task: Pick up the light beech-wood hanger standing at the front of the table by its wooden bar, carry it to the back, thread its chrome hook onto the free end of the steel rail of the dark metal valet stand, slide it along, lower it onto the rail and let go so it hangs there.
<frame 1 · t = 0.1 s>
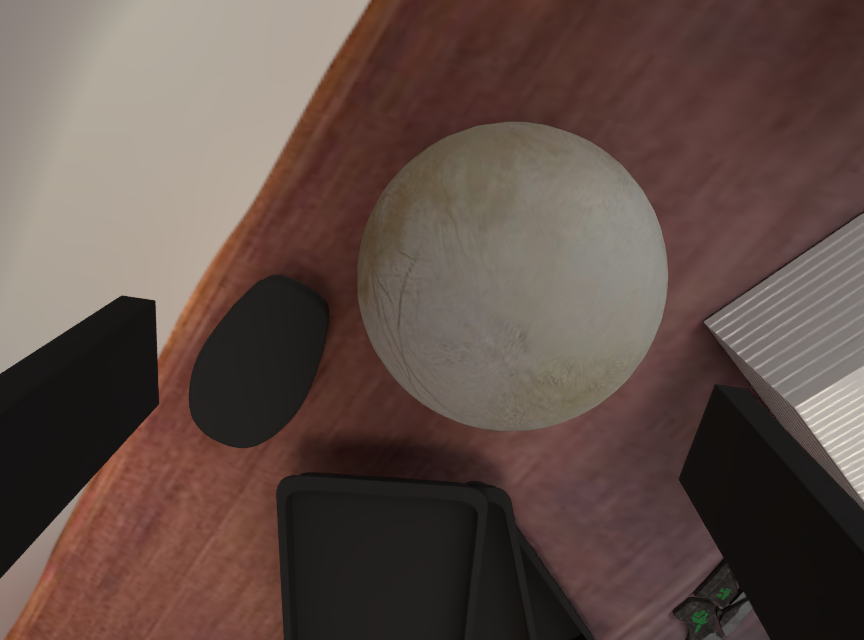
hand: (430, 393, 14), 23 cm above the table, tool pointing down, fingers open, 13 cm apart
sword: (794, 584, 45), on the table
computer mouse: (255, 371, 35), point 4 cm above the table
decorative sphere: (496, 240, 36), on the table
tray: (418, 568, 46), on the table, touching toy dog
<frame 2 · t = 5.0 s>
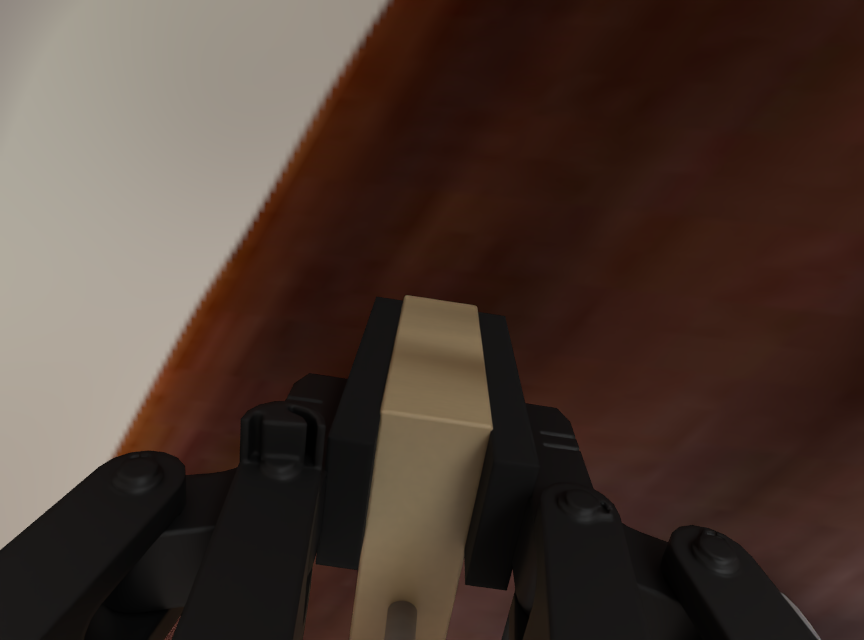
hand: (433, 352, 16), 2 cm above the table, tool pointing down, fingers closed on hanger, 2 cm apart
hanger: (410, 480, 18), point 2 cm above the table, touching gripper
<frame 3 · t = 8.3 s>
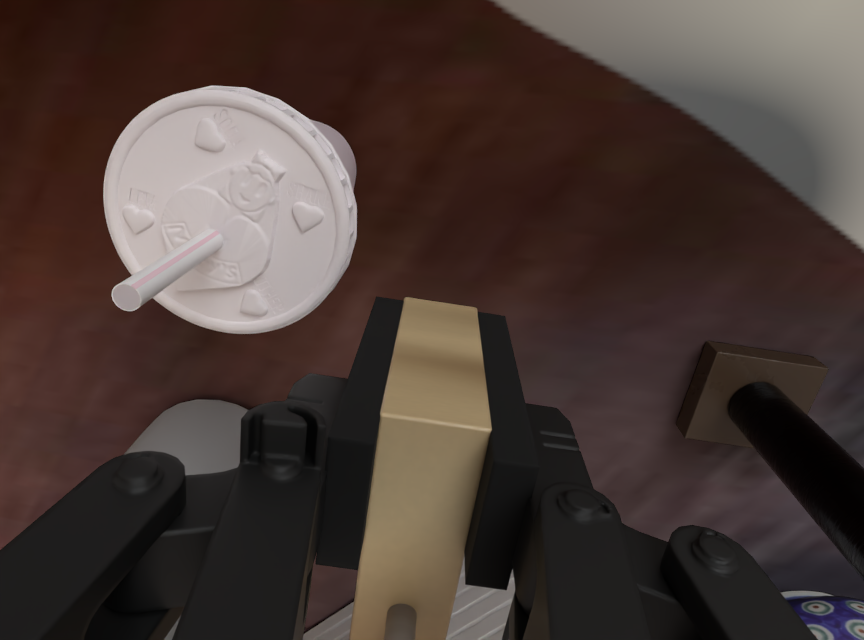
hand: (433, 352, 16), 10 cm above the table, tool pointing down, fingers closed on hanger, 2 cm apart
cup: (247, 451, 29), on the table
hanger: (410, 481, 18), point 10 cm above the table, touching gripper
smoothie: (312, 167, 24), on the table
valet stand: (742, 391, 27), on the table
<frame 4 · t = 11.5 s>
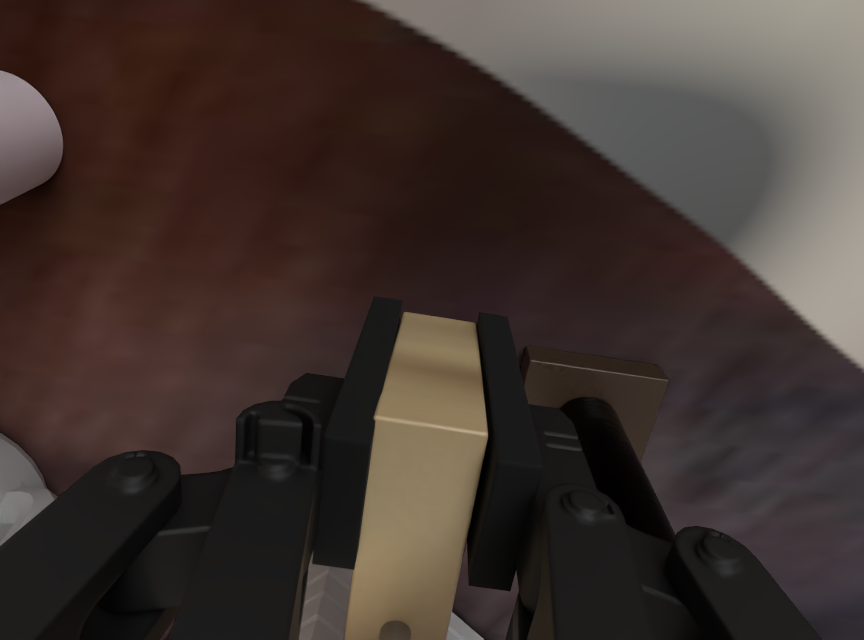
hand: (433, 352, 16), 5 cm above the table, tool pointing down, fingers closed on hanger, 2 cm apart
cup: (3, 476, 25), on the table
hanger: (409, 503, 17), point 5 cm above the table, tilted 5°, touching gripper, valet stand
smoothie: (10, 130, 19), on the table
valet stand: (577, 406, 22), on the table
when the fingers open (5 cm above the table, at t = 11.8 s): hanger stays where it is, resting on valet stand.
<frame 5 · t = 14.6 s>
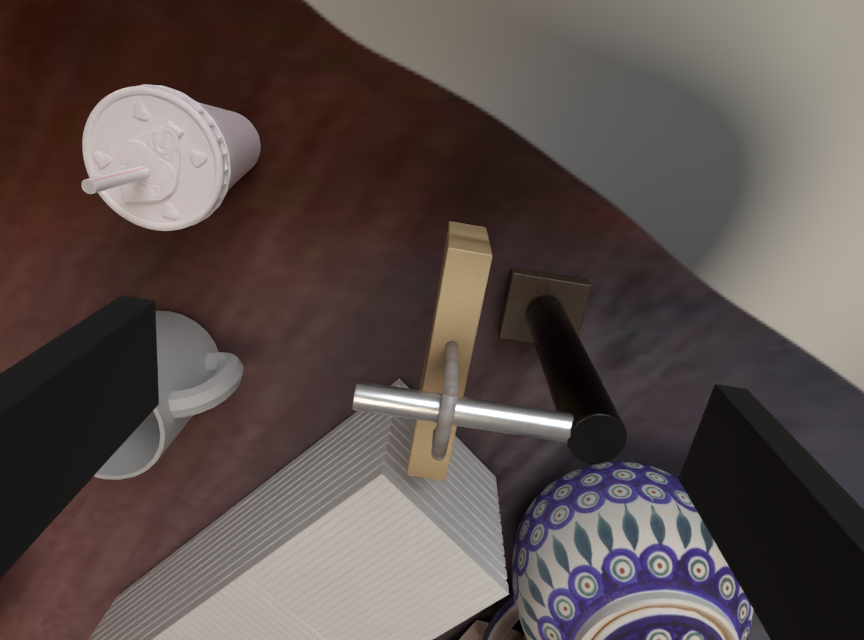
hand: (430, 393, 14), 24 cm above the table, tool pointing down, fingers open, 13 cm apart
cup: (192, 353, 40), on the table
stack of papers: (295, 538, 46), on the table
teapot: (604, 516, 44), on the table, touching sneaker
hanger: (448, 327, 33), point 5 cm above the table, touching valet stand
smoothie: (231, 143, 35), on the table
valet stand: (541, 306, 38), on the table
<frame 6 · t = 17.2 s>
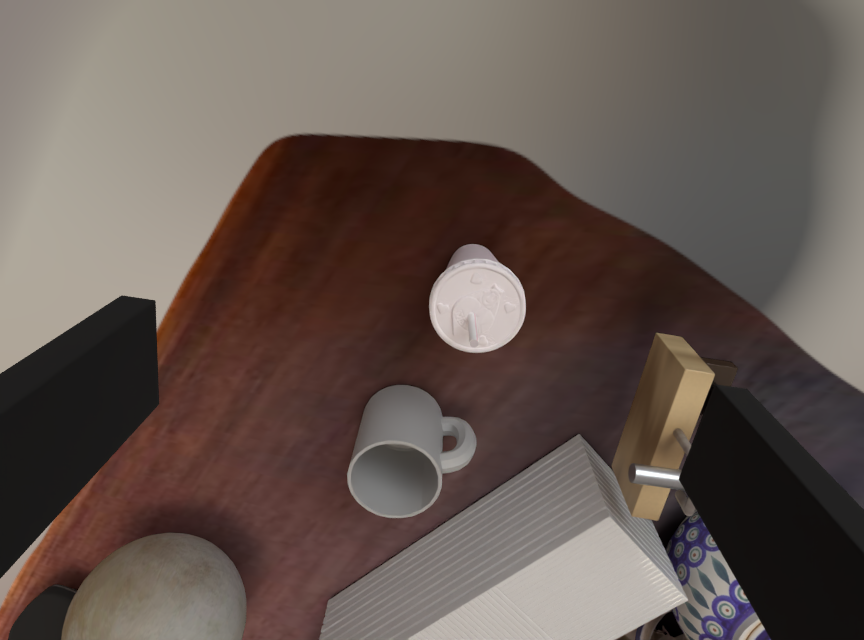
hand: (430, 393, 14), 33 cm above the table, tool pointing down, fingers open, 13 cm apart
cup: (418, 414, 52), on the table
stack of papers: (478, 554, 58), on the table
teapot: (726, 536, 56), on the table, touching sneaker
decorative sphere: (194, 556, 59), on the table
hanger: (644, 404, 45), point 5 cm above the table, touching valet stand
smoothie: (472, 265, 47), on the table
valet stand: (694, 380, 50), on the table
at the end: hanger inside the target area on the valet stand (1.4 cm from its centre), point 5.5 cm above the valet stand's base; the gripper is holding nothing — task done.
